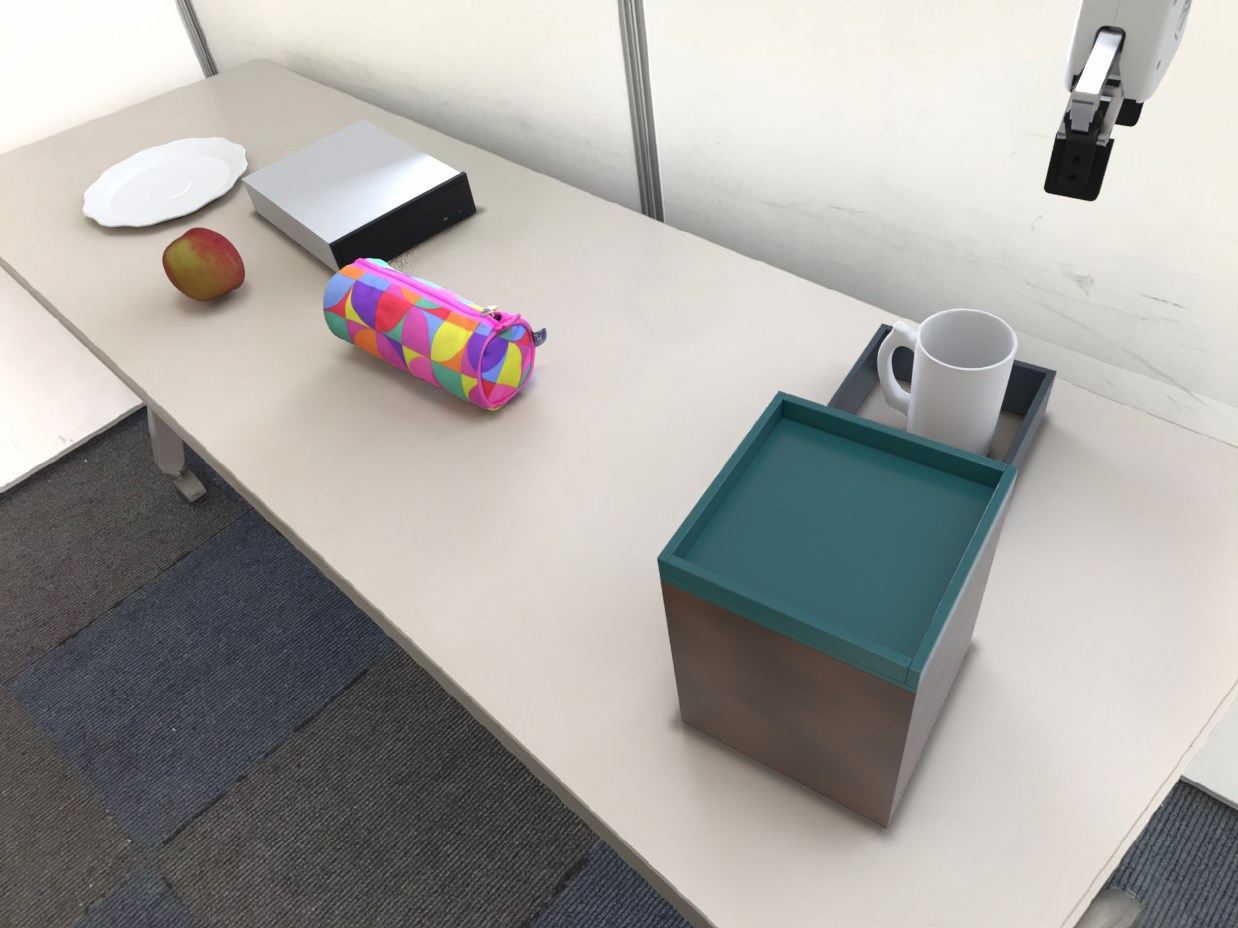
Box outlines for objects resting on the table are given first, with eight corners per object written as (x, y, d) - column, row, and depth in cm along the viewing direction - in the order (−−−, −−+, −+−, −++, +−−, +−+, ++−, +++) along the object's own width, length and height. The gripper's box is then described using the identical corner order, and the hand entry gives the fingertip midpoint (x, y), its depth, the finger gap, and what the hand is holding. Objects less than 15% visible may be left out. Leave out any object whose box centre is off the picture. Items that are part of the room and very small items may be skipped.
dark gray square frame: (1043, 416, 77) (1057, 370, 73) (985, 539, 69) (997, 494, 66) (877, 367, 83) (881, 323, 79) (807, 474, 76) (809, 431, 72)
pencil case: (561, 368, 88) (544, 290, 82) (499, 431, 83) (475, 354, 77) (396, 306, 98) (368, 232, 92) (331, 359, 93) (297, 285, 87)
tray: (1012, 491, 52) (1019, 467, 50) (916, 695, 44) (920, 673, 43) (778, 413, 58) (778, 389, 57) (659, 580, 51) (656, 557, 49)
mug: (1005, 448, 75) (1035, 330, 66) (962, 499, 72) (987, 383, 63) (894, 397, 80) (908, 282, 72) (849, 442, 77) (858, 329, 69)
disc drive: (347, 285, 102) (331, 246, 98) (255, 214, 115) (238, 177, 111) (477, 212, 109) (467, 173, 105) (376, 153, 121) (364, 116, 118)
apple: (243, 265, 107) (212, 203, 101) (263, 299, 102) (232, 236, 96) (177, 292, 105) (142, 231, 99) (195, 328, 100) (159, 265, 94)
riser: (969, 646, 64) (1012, 491, 52) (887, 828, 56) (916, 695, 44) (778, 567, 70) (778, 413, 58) (681, 721, 62) (659, 580, 51)
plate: (60, 208, 122) (53, 196, 121) (196, 135, 131) (191, 123, 130) (141, 255, 111) (134, 243, 110) (283, 172, 121) (278, 160, 120)
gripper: (1216, -76, 43) (1118, 240, 56) (1281, -189, 52) (1184, 105, 65) (1047, -87, 46) (989, 214, 59) (1135, -192, 55) (1069, 89, 68)
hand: (1091, 157), depth 62 cm, fingers open, 9 cm apart
